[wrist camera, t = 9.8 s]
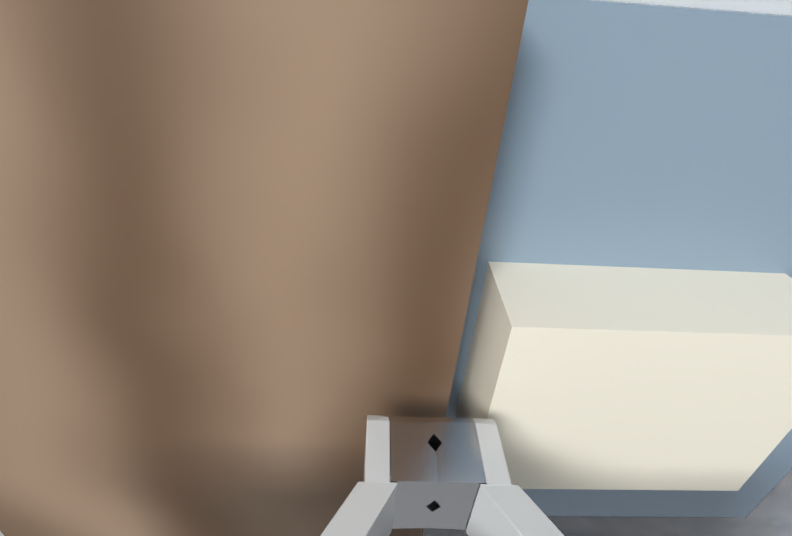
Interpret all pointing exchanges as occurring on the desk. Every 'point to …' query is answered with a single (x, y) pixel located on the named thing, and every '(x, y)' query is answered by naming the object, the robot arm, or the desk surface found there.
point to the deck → (232, 249)
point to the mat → (644, 175)
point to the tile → (631, 374)
